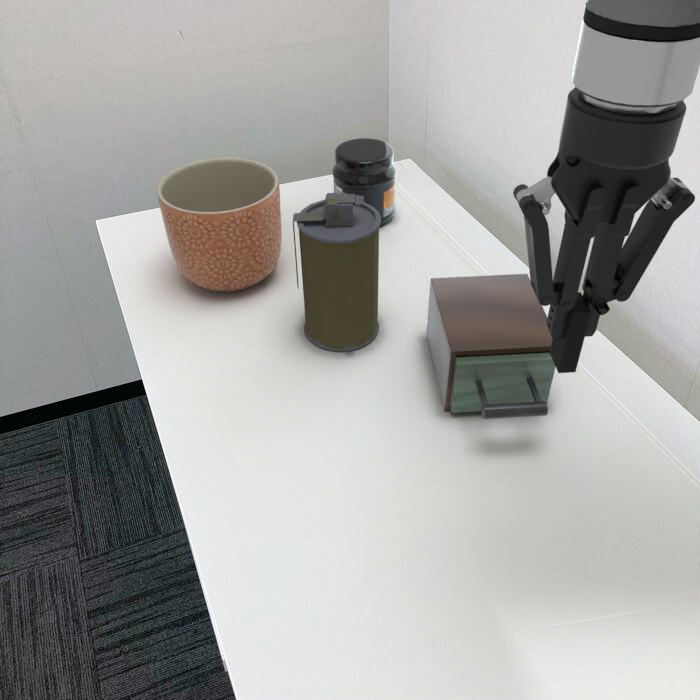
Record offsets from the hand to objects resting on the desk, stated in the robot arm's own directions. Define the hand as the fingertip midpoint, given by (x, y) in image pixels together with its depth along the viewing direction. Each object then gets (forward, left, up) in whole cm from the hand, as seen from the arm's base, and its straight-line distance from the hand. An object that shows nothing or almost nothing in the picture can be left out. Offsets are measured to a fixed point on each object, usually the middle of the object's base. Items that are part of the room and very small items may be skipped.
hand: (562, 362), depth 62 cm
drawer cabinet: (+22, 0, -20) cm, 30 cm away
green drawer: (+17, 0, -20) cm, 26 cm away
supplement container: (+63, +12, -21) cm, 67 cm away
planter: (+47, +34, -21) cm, 62 cm away
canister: (+32, +18, -21) cm, 42 cm away
